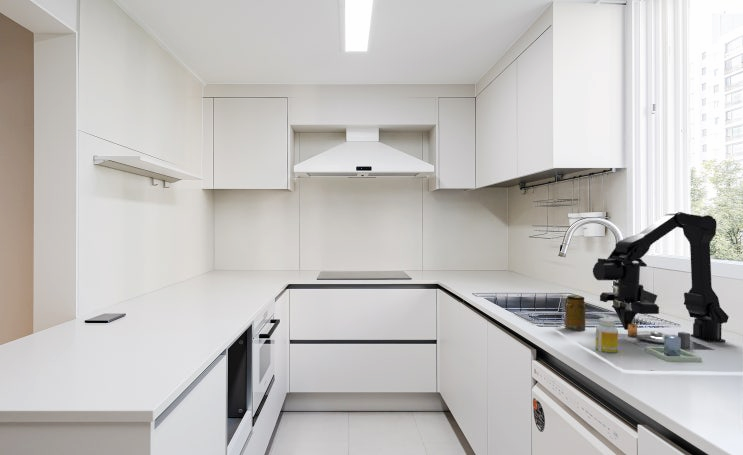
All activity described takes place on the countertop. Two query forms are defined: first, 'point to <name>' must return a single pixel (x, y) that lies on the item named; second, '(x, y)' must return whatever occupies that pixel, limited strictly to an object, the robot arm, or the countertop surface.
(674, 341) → the blue gray block
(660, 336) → the crank
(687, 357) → the tray
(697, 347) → the crank base
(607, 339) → the supplement bottle
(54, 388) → the countertop surface
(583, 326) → the condiment
